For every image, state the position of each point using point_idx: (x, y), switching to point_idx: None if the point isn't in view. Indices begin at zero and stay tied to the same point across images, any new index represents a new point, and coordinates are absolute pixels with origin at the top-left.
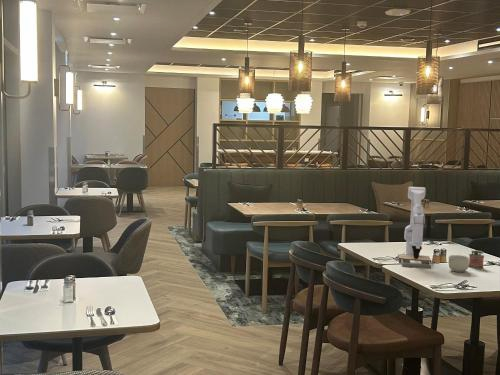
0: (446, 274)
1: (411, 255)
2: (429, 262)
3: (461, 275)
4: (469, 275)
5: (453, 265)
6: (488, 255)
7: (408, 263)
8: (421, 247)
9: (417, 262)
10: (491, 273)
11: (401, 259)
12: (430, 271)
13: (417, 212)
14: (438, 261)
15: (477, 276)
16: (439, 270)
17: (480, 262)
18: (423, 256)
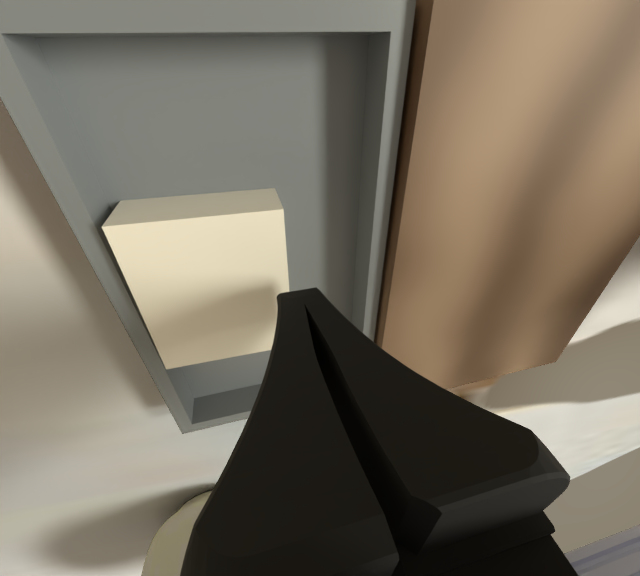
0: (7, 509)
1: (622, 214)
2: None
3: (77, 546)
4: (122, 556)
5: (145, 569)
6: (582, 473)
7: (47, 179)
8: None
9: (165, 326)
10: None
11: (385, 11)
12: (10, 421)
13: None
14: (484, 386)
15: (128, 572)
16: (146, 451)
17: None
18: (547, 331)
